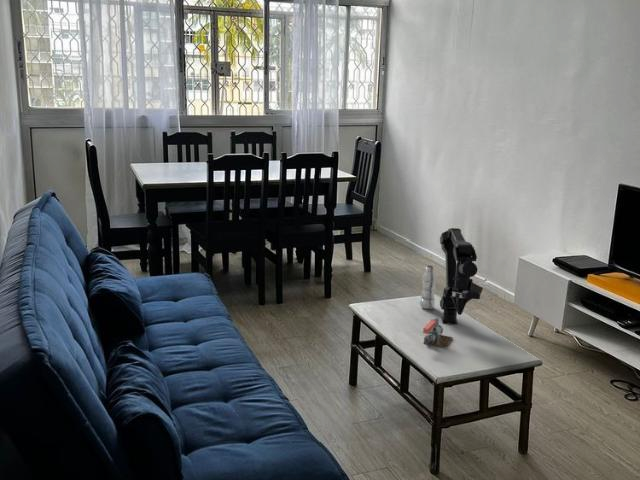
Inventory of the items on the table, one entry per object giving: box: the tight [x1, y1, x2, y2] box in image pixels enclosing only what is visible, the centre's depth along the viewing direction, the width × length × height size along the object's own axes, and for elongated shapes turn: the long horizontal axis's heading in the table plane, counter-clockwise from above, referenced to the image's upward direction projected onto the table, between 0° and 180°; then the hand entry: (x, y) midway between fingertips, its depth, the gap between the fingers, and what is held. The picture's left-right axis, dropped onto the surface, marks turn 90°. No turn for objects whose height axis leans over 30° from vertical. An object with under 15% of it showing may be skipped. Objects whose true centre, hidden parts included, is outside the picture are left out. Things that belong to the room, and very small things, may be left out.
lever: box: [422, 316, 440, 335], centre depth 245 cm, size 3×13×2 cm, turn 151°
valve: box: [423, 324, 453, 349], centre depth 250 cm, size 12×9×7 cm
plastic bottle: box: [419, 264, 437, 310], centre depth 283 cm, size 6×7×20 cm
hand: (459, 314), depth 248 cm, fingers closed
